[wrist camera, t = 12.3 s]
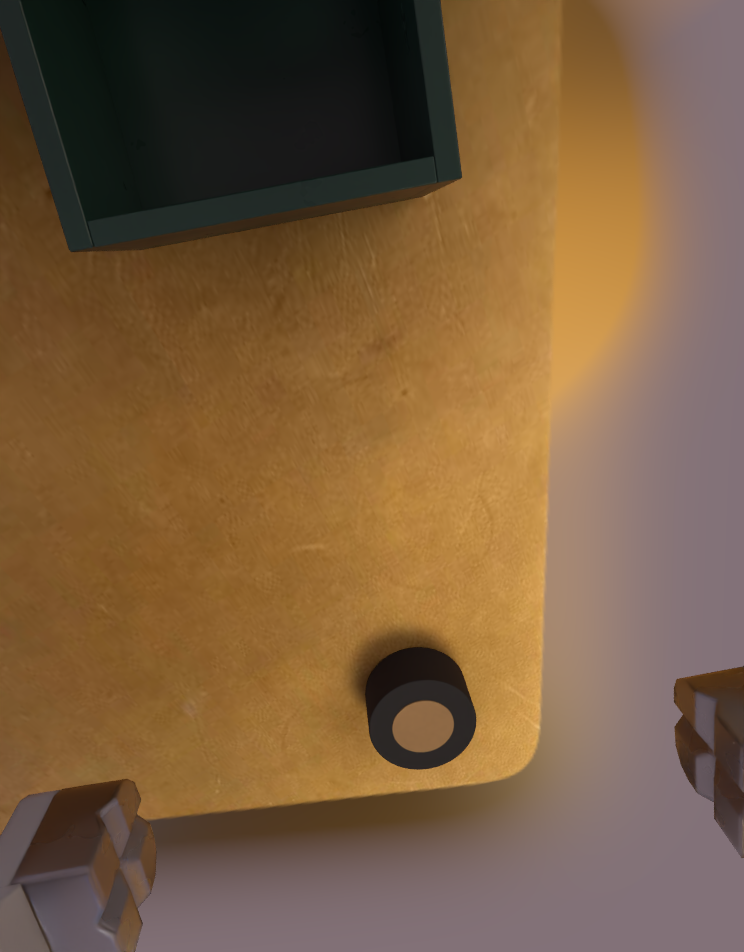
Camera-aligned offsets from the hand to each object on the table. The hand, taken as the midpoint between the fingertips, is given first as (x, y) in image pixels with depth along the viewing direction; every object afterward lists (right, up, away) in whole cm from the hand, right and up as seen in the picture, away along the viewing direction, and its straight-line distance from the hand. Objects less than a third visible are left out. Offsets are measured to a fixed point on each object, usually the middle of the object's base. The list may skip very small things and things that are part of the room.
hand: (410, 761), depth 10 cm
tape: (+2, -8, +28) cm, 29 cm away
